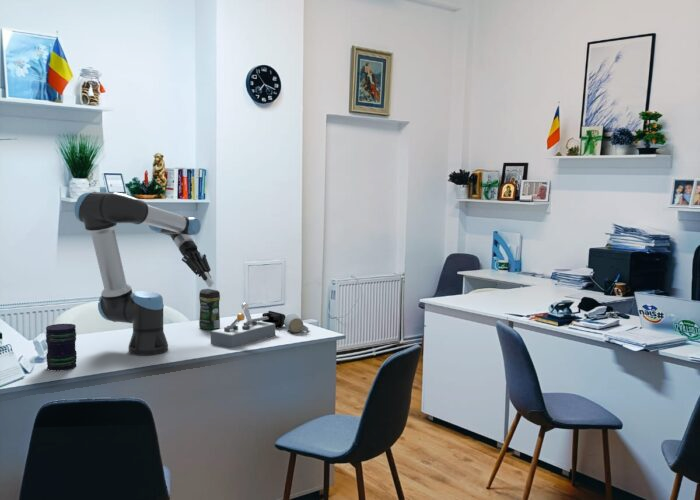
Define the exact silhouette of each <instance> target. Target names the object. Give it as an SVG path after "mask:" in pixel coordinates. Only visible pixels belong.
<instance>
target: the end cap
mask: <svg viewBox="0 0 700 500" xmlns="http://www.w3.org/2000/svg"><path fill="white" fill-rule="evenodd" d="M265 316H267V317H268V318H269V319H267V320H263V321H262V322H267V323H273V324H275V329H279V328H283V327H284V326H285V325H284V320H285V318H286V316H287V315H285V314H284V313H281V312H276V311H273V310H268V312H264V313H262V316H261V317H265Z"/></svg>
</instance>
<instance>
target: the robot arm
mask: <svg viewBox="0 0 700 500" xmlns="http://www.w3.org/2000/svg"><path fill="white" fill-rule="evenodd" d="M73 210H74V216H75V218H76V219H77V220H78V221H80V222H81V223H83V225H84V228H85V230H86V231H87V232H89V233H90V235H91V238H92V239H91V240H92V242H93V243H92V244H93V247H94V251H95V256H96V260H97V265H98V268H99V273H100V277H101V280H102V281H101V282H102V285H103V290H101V296H100V297H99V299H98V301H99V302H97V310H98V312H99V314H100V316H101V317H102V318H103V319H105V320H106V321H111V322H113V323H126V324H132V335H131V336H130V340H129V343H128V347H127V348H128V353H129V354H131V355H135V356H152V355H159V354H162V353H163V354H164V353H166V352H167V351H168V350H169V344H168V340H167V337H166V334H165V331H164V299H163V298H164V297H163V296H162V295H161V294H160V293H158V292H154V291H146V290H137V291H134V292H133V289H132V286H131V285H129V283H127V281H126V276H125V271H124V267H123V263H122V258H121V253H120V249H119V244H118V239H117V236H116V231H115V228H116V227H117V225H118V224H134V225H141V224H143V225H148V227H149V229H150V230H151V231H153V232H155V233H158V234H162V235H166V236H168V237H170V238H171V239H172V242H173V243H174V244H175V246H176V247H177V249H178V251H179V252H180V254H181V255H182V258H181V261H182V262H184V263H185V264H186V265H187V267H188V268H189V269H190V270H191V271H192V273H194V275H196V276H198V277H200V278H201V279H202V280H203V281H204V282H205V283H206V285H207V287H208V288H212V287H213V285H215V282H214V280H213V279H212V276H211V274H210V272H211V268H210V264H209V262H208V259H207V255H206V254H205V253H204V254H201V252H200V251H198V246H197V244H196V243H195V241H194V239H193V238H192V236H193V235H194V236H195V235H198V234H199V233H200V231H201V227H202V225H201V224H202V223H201V220H200V219H199V218H198V217H192V216H191V217H189V216H185V215H182V214H178V213H175V212H172V211H169V210H165V209H163V208H159V207H156V206H152V205H149V204H148V203H147V202H146V201H144V200H142V199H139V198H136V197H133V196H130V195H127V194H125V193H120V192H106V191H105V192H101V191H92V192H90V191H88V192H87V191H86V192H84V193H82V194H80V195H79V196H78V198H77V199H76V201H75V204H74V209H73Z"/></svg>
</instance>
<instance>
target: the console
mask: <svg viewBox="0 0 700 500" xmlns="http://www.w3.org/2000/svg"><path fill="white" fill-rule="evenodd" d="M254 322H255V323H254V324H252V325H249V323H246V322H243V323H238V324H237V325H236V328H235V329H232V330H230V328H227V326H225V327H223V328H218V329H216V330H210V344H213V345H217V346H223V347H226V348H234V347H239V346H242V345H245V344H249V343H253V342H256V341H260V340H263V339H266V338H270V337H273V336H276V328H275V324H273V323H267V322H262V321H254Z"/></svg>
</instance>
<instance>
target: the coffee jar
mask: <svg viewBox="0 0 700 500" xmlns="http://www.w3.org/2000/svg"><path fill="white" fill-rule="evenodd" d="M198 294H199V295H198V300H199V320H198V321H199V322H198V323H199V325H198V327H199V328H200V329H203V330H207V331H214V330H218V329H221V319H220V318H221V317H220V301H221V293H220V291H219V290H216V289H212V288H211V289H210V288H204V289H201V290H200V291H199V293H198Z"/></svg>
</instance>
